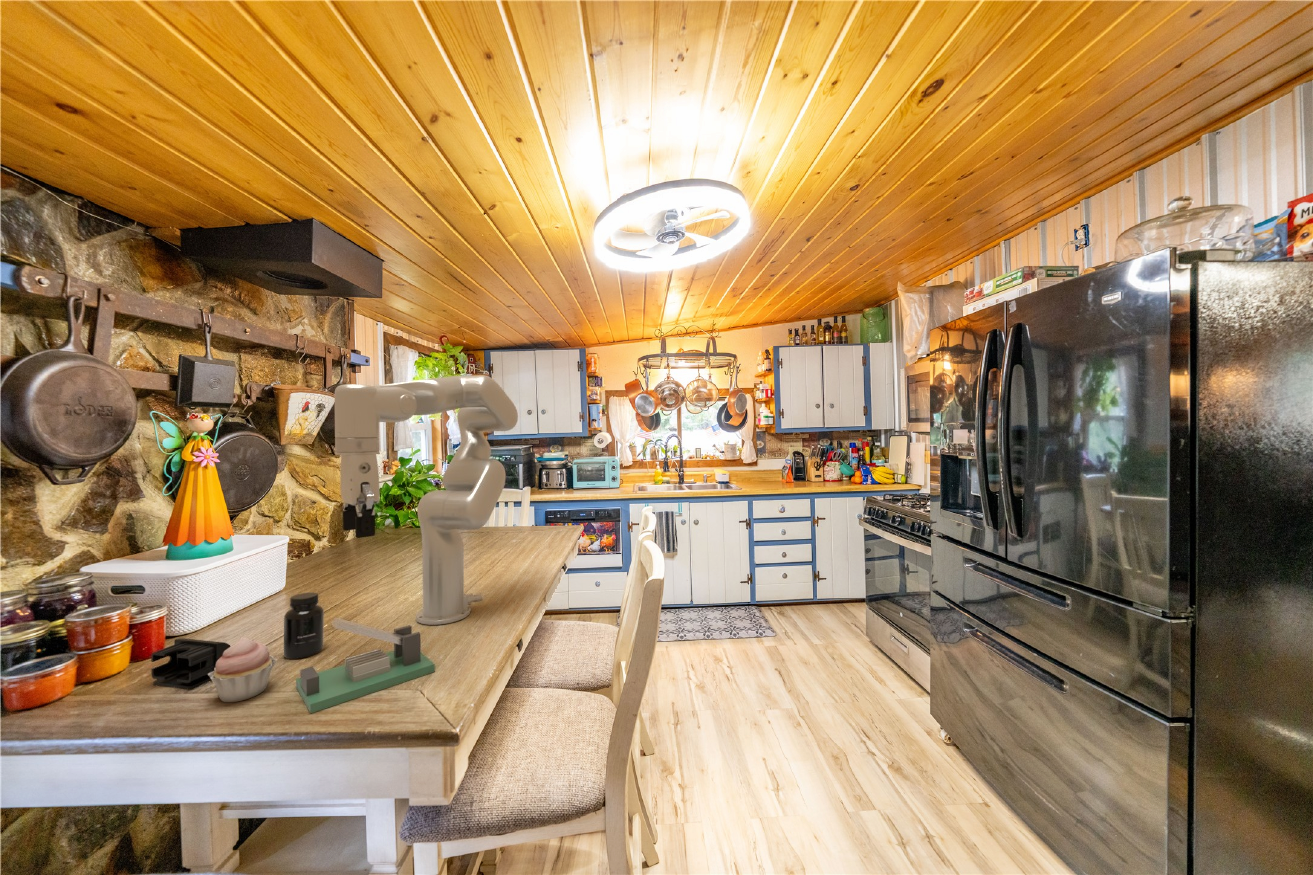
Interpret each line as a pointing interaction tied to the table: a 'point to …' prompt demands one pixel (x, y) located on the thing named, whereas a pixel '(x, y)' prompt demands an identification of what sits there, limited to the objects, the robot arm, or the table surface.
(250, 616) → the table surface
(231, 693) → the cupcake
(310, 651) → the supplement bottle
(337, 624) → the grey long bar
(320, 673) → the board
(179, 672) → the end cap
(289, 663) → the table surface
